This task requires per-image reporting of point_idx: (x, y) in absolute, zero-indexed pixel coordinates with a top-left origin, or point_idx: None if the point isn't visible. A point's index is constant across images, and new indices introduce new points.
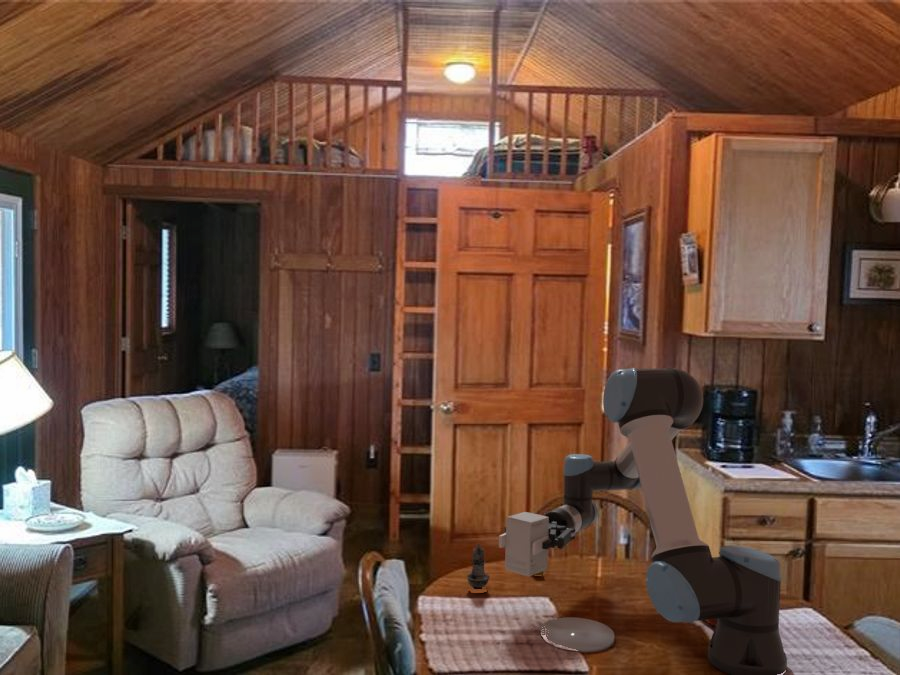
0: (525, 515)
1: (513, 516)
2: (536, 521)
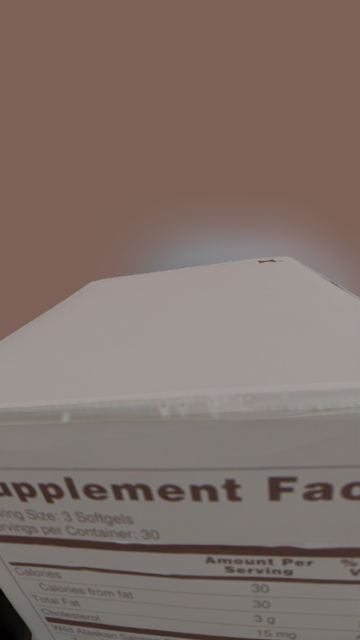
0: (212, 294)
1: (261, 263)
2: (64, 302)
